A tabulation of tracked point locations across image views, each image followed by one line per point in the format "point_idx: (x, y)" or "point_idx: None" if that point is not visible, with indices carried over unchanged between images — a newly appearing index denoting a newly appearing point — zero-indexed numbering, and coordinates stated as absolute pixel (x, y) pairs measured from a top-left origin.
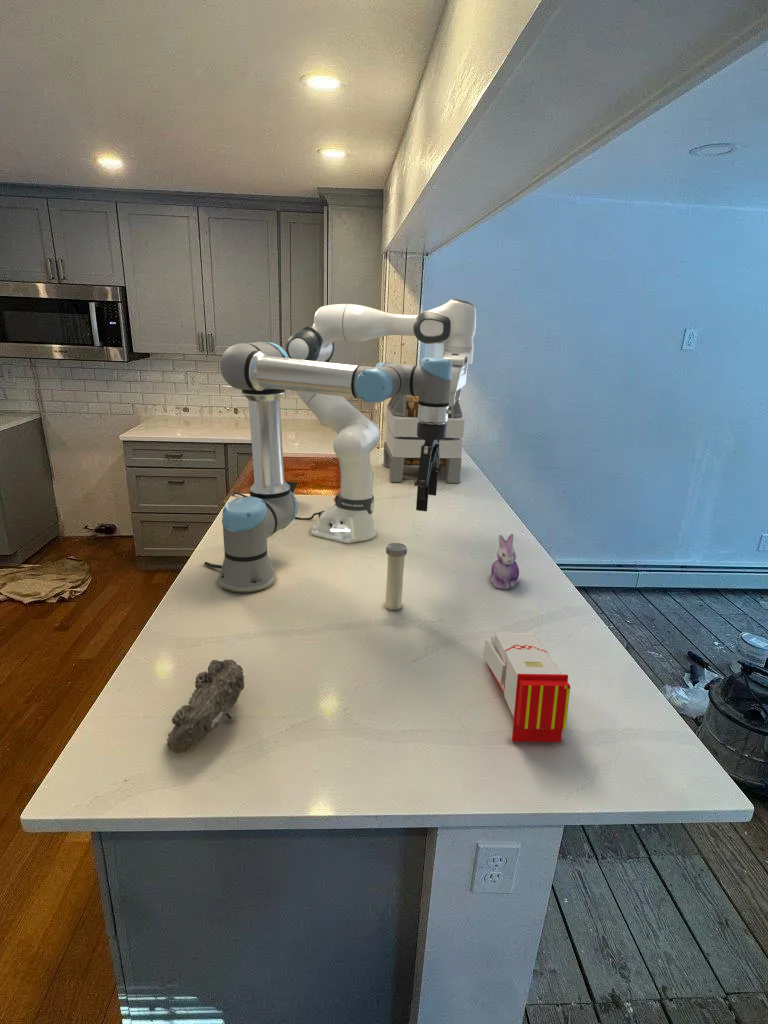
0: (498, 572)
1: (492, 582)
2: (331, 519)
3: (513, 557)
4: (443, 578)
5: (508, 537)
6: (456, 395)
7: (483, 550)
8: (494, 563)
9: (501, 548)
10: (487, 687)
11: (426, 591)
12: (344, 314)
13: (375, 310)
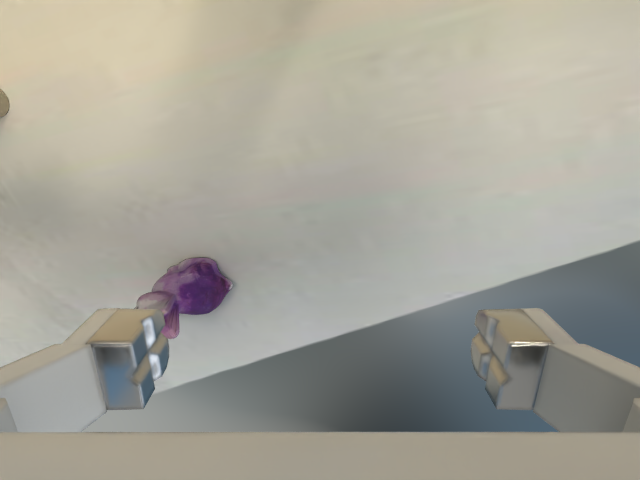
0: (154, 284)
1: (179, 263)
2: None
3: None
4: (160, 171)
5: (164, 327)
6: (545, 373)
7: (334, 229)
8: (188, 275)
9: (144, 308)
10: None
11: (87, 150)
12: None
13: None
